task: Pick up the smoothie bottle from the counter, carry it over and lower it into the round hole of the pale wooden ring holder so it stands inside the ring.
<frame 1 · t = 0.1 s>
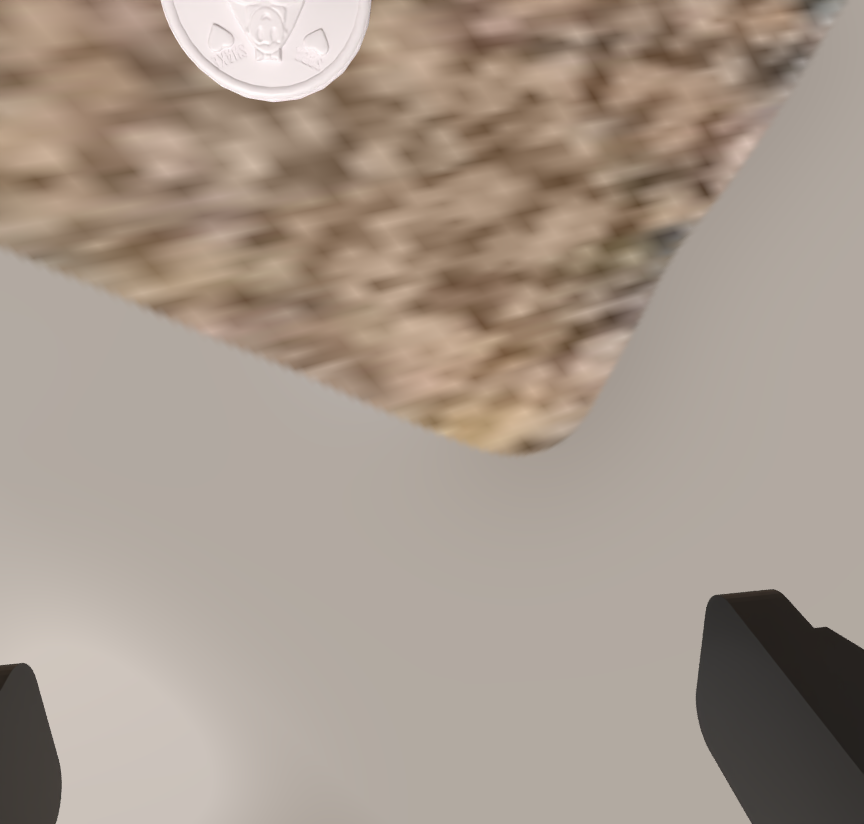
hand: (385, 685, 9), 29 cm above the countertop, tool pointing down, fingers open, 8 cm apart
smoothie: (283, 17, 33), on the countertop
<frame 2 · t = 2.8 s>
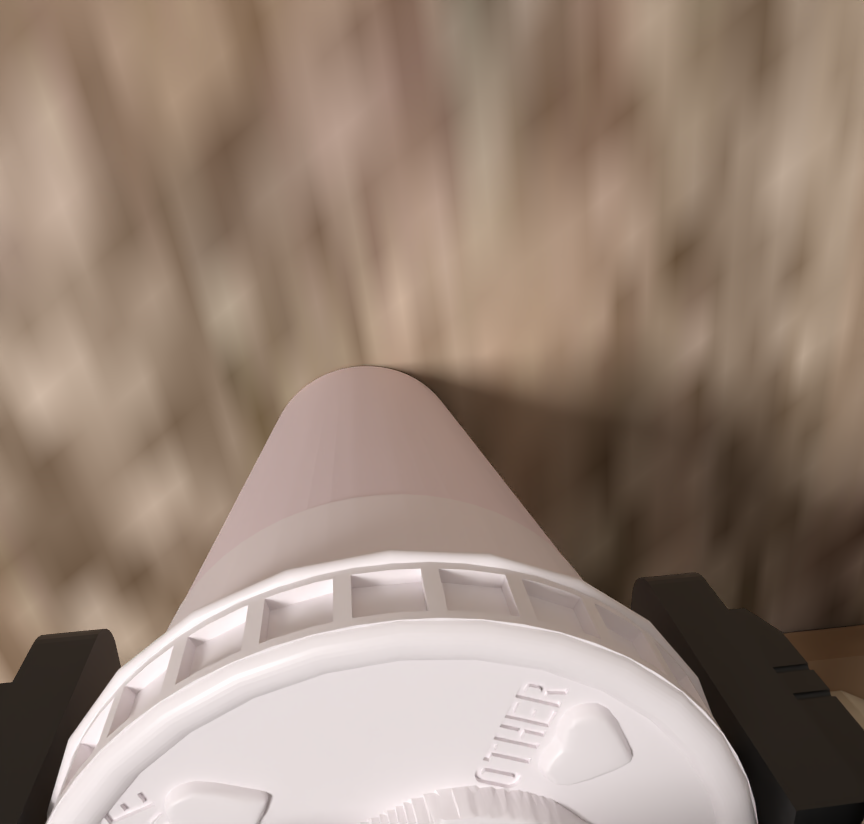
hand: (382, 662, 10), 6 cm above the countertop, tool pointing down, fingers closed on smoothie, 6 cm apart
smoothie: (364, 450, 16), on the countertop, touching gripper
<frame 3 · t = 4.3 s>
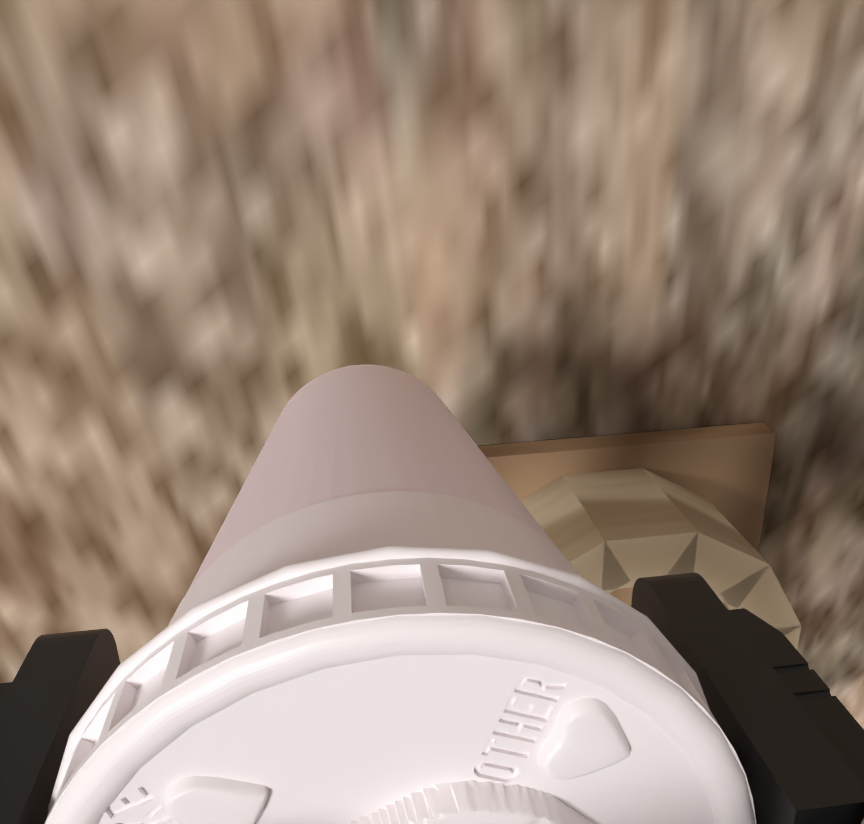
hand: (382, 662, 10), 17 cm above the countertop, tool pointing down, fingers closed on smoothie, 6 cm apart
bottle holder: (586, 585, 31), on the countertop
smoothie: (364, 448, 16), point 11 cm above the countertop, touching gripper
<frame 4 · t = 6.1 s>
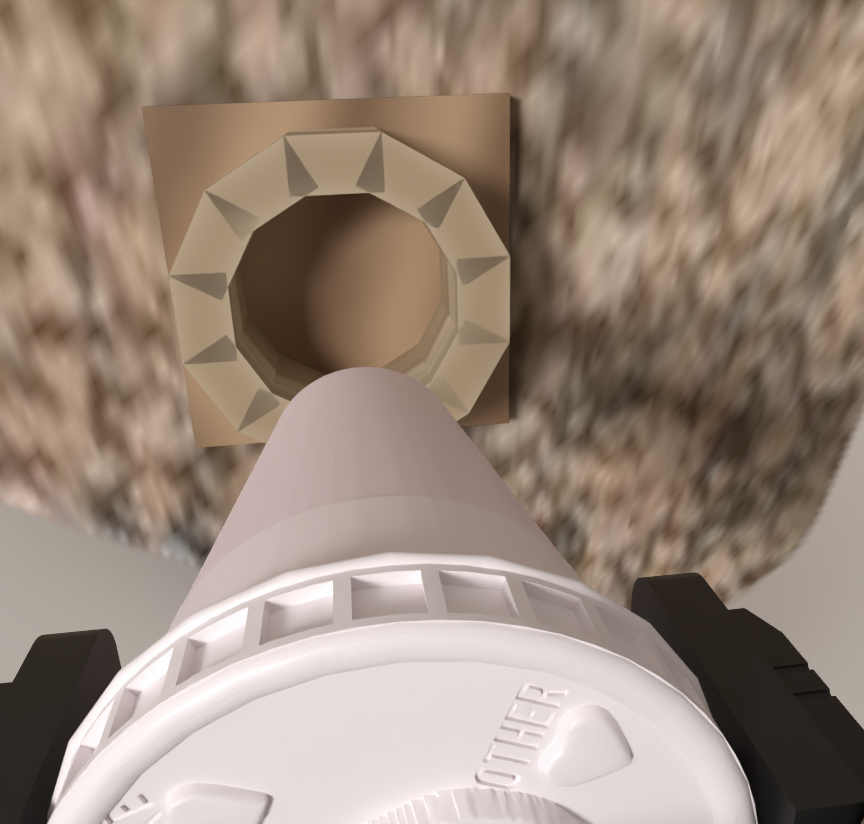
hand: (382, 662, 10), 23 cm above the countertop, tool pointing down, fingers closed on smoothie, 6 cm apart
bottle holder: (343, 275, 31), on the countertop
smoothie: (364, 450, 16), point 17 cm above the countertop, touching gripper
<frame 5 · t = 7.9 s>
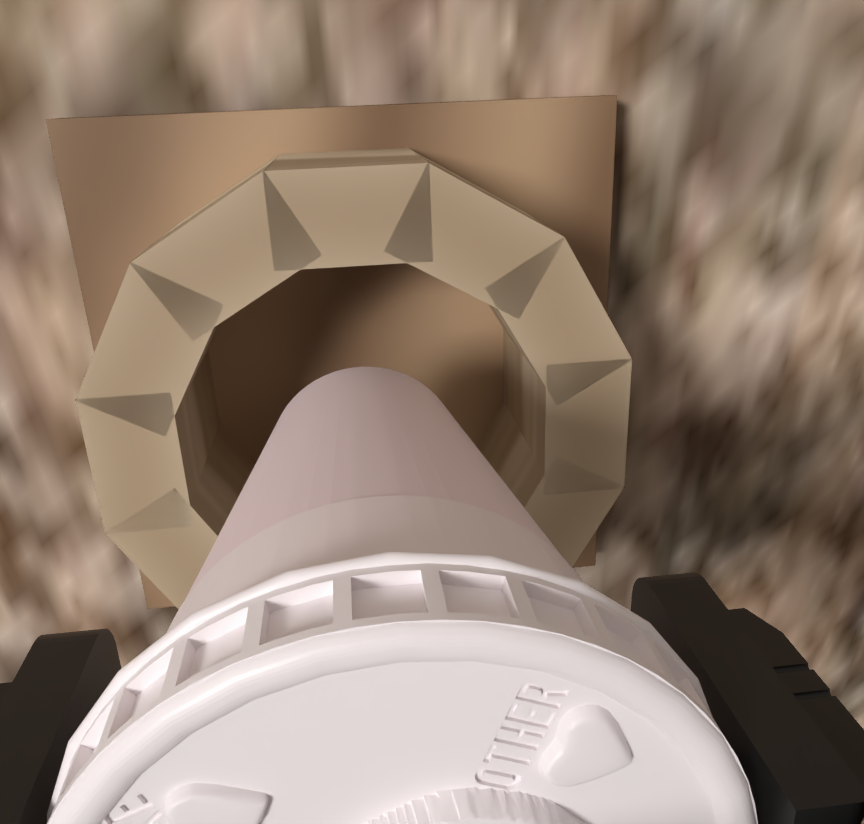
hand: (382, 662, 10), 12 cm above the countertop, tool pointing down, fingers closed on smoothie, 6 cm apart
bottle holder: (360, 363, 21), on the countertop
smoothie: (364, 450, 16), point 6 cm above the countertop, touching gripper
when the fingers open (9 cm above the countertop, at t = 9.3 s): smoothie drops 1 cm, resting on bottle holder.
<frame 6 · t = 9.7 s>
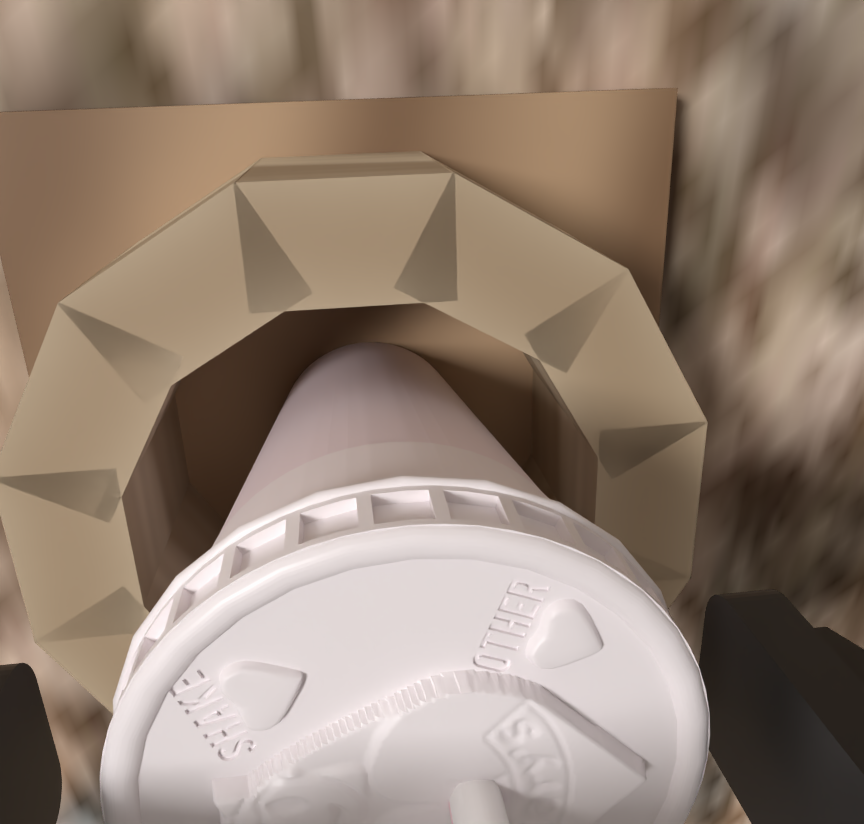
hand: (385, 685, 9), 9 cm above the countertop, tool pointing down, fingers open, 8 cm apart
bottle holder: (359, 408, 18), on the countertop
smoothie: (369, 420, 17), point 1 cm above the countertop, touching bottle holder
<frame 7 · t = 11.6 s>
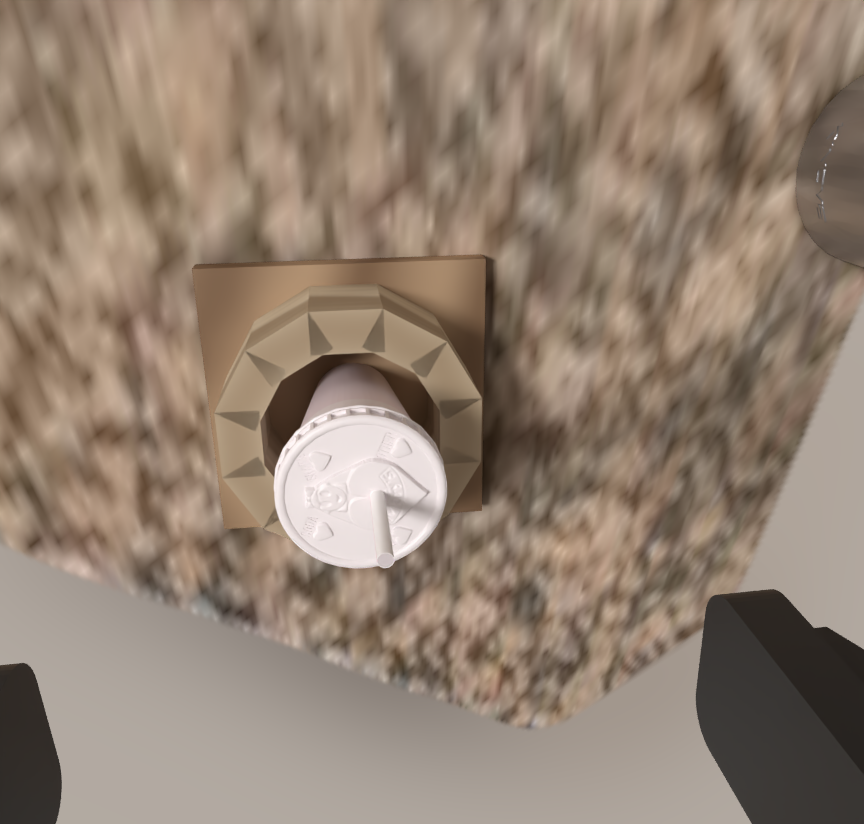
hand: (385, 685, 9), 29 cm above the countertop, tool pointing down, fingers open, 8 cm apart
bottle holder: (348, 392, 38), on the countertop
smoothie: (352, 398, 38), point 1 cm above the countertop, touching bottle holder
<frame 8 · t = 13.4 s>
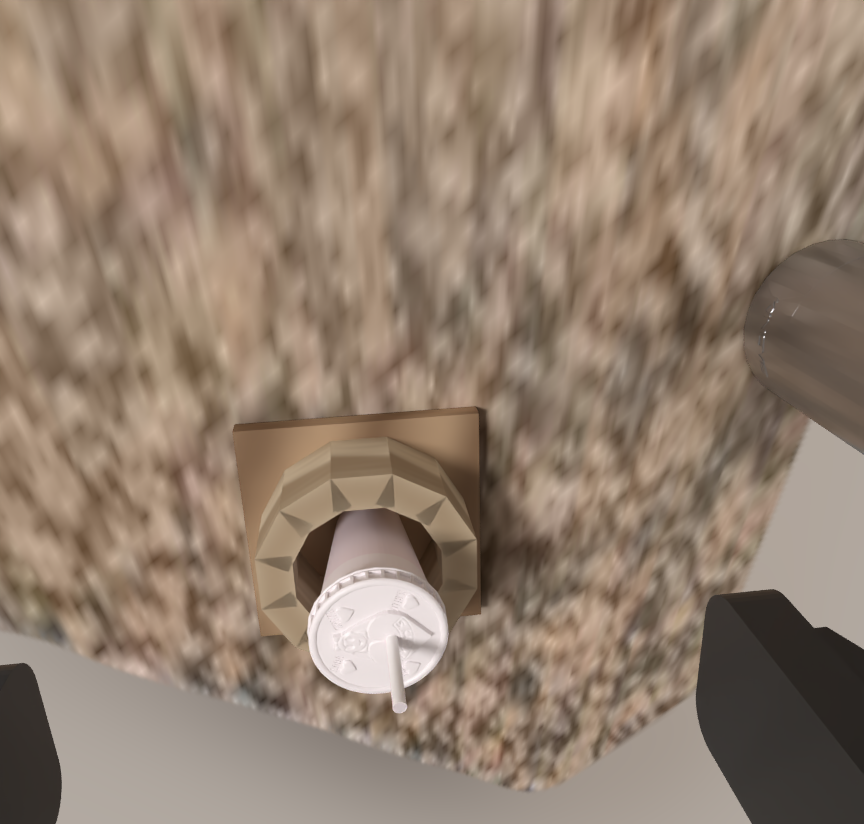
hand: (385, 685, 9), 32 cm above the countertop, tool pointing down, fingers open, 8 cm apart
bottle holder: (364, 520, 45), on the countertop
smoothie: (368, 527, 44), point 1 cm above the countertop, touching bottle holder
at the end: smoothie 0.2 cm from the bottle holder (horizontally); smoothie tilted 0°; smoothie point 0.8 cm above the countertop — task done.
